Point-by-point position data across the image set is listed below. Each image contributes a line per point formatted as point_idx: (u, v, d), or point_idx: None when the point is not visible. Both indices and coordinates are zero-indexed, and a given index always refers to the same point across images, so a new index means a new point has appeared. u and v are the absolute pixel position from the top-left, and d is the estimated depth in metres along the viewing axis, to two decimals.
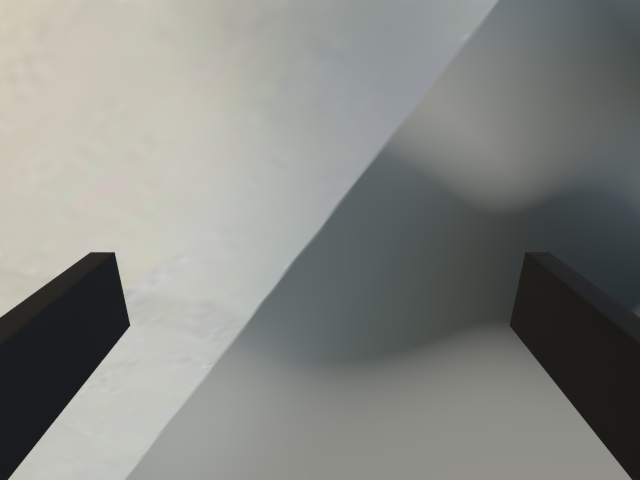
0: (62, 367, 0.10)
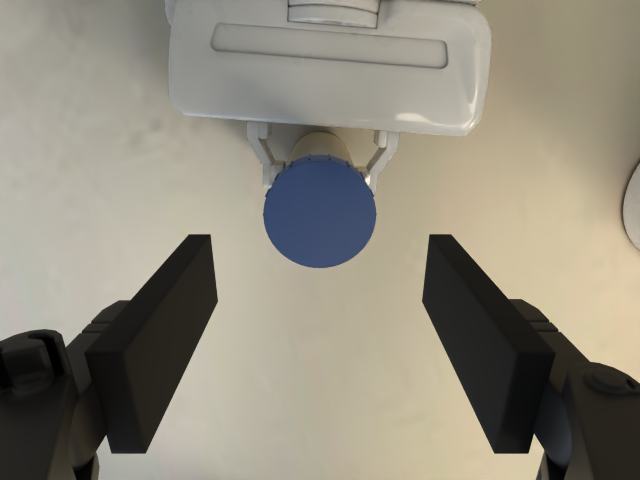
0: (186, 330, 0.11)
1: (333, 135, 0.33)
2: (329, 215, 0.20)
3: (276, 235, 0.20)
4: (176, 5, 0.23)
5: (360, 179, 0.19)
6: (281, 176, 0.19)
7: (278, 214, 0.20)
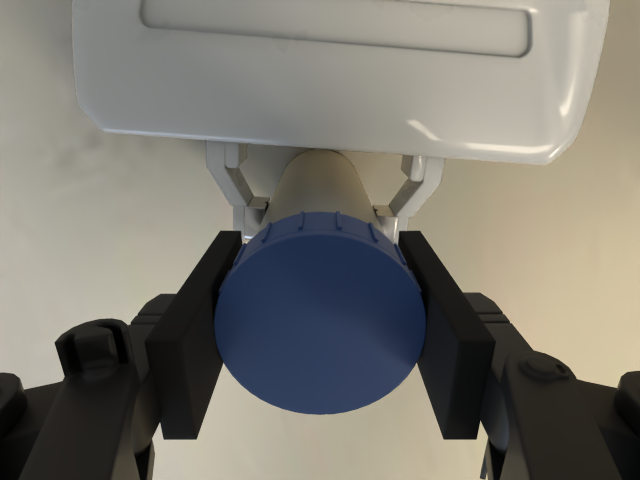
0: None
1: (339, 154, 0.24)
2: (338, 331, 0.10)
3: (239, 363, 0.11)
4: None
5: (400, 268, 0.10)
6: (245, 262, 0.10)
7: (241, 329, 0.10)
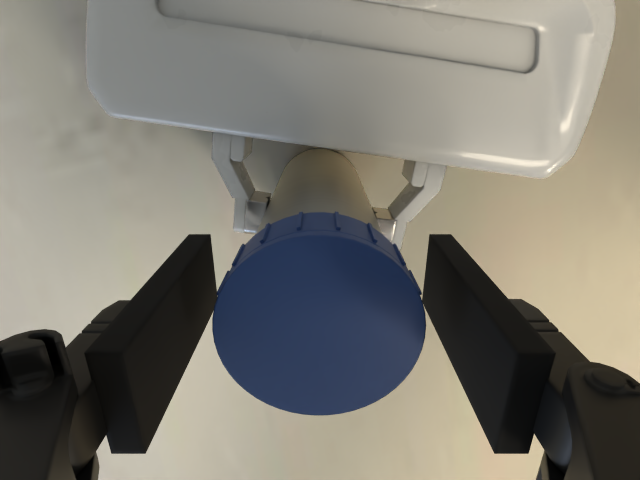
0: (186, 330, 0.11)
1: (340, 155, 0.24)
2: (318, 318, 0.10)
3: (339, 403, 0.11)
4: None
5: (254, 256, 0.10)
6: (235, 377, 0.11)
7: (301, 395, 0.11)
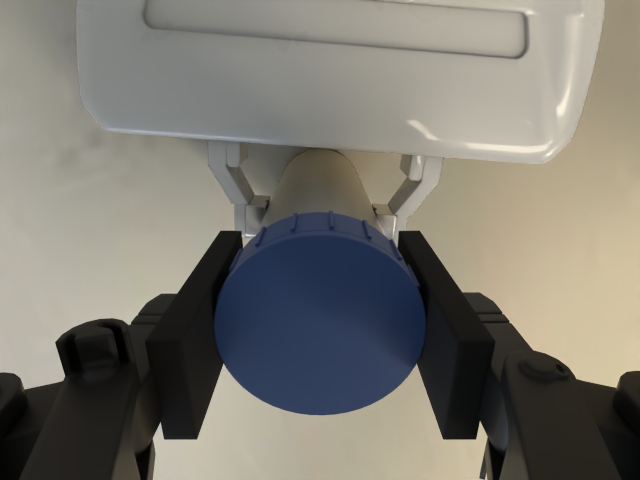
0: None
1: (338, 154, 0.24)
2: (318, 318, 0.10)
3: (345, 402, 0.11)
4: None
5: (250, 260, 0.10)
6: (240, 381, 0.11)
7: (307, 395, 0.11)
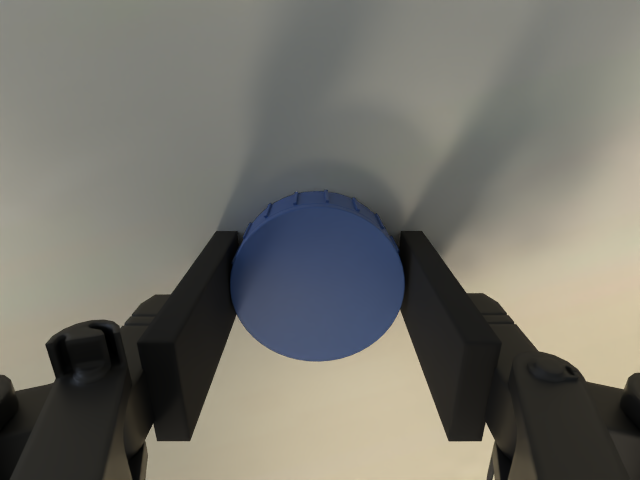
0: (219, 323, 0.11)
1: None
2: (316, 277, 0.12)
3: (338, 349, 0.14)
4: None
5: (260, 228, 0.12)
6: (251, 332, 0.13)
7: (307, 343, 0.13)
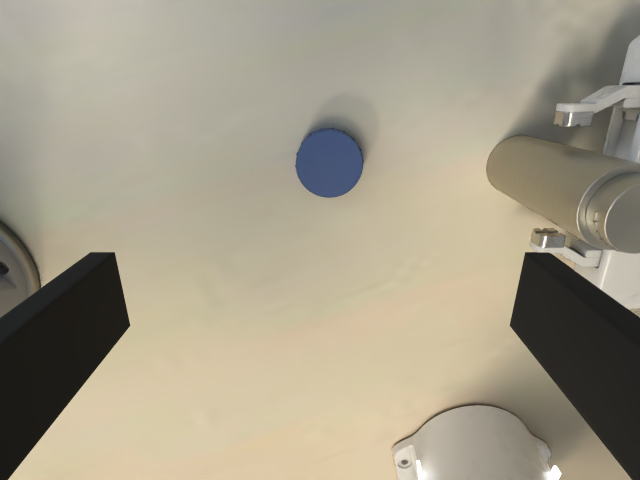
0: (62, 367, 0.10)
1: None
2: (328, 159, 0.33)
3: (337, 191, 0.34)
4: None
5: (308, 138, 0.32)
6: (303, 183, 0.34)
7: (325, 189, 0.34)
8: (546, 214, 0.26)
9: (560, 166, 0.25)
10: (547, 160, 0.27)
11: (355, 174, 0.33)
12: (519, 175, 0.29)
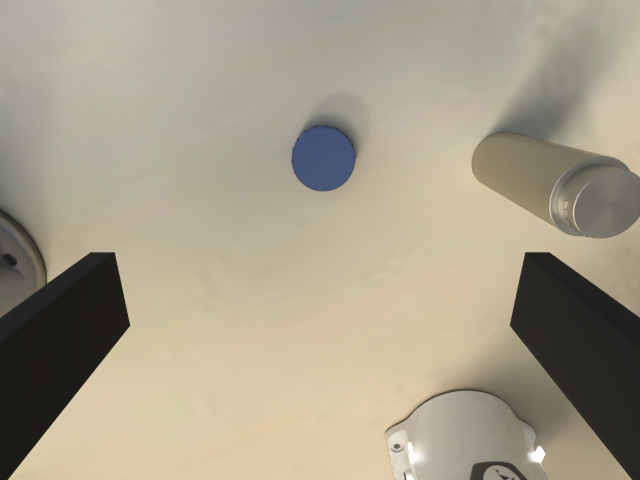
0: (62, 367, 0.10)
1: None
2: (322, 154, 0.35)
3: (331, 185, 0.36)
4: None
5: (303, 135, 0.34)
6: (298, 178, 0.36)
7: (319, 183, 0.36)
8: (524, 204, 0.28)
9: (536, 159, 0.27)
10: (524, 154, 0.29)
11: (348, 169, 0.35)
12: (500, 169, 0.31)
